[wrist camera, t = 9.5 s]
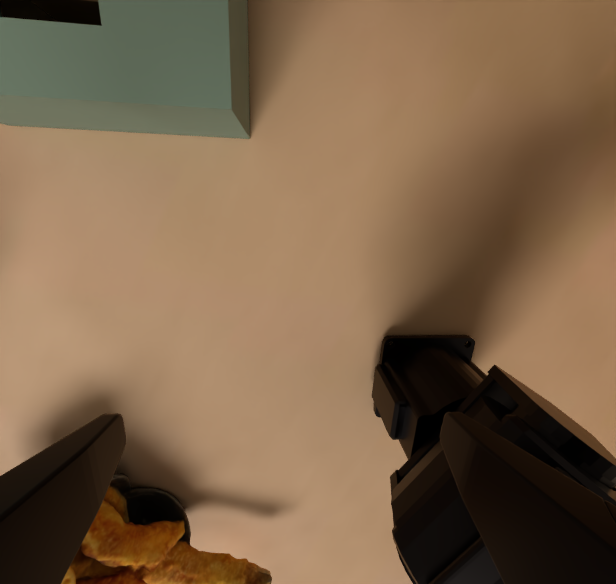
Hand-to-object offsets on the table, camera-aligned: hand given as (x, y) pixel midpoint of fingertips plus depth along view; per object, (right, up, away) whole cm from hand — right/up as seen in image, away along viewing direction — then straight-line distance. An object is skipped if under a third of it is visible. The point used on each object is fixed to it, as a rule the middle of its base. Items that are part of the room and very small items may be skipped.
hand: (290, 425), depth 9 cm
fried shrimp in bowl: (-12, -13, +16) cm, 24 cm away
